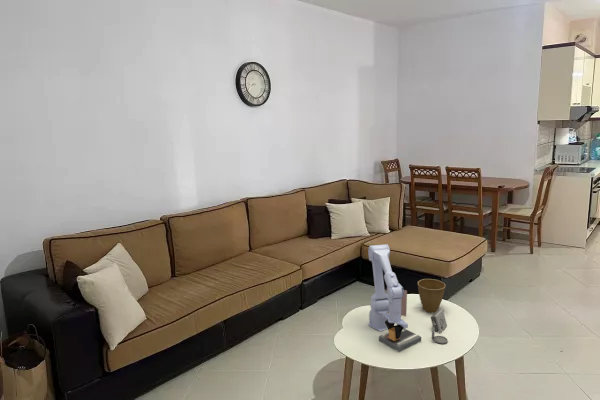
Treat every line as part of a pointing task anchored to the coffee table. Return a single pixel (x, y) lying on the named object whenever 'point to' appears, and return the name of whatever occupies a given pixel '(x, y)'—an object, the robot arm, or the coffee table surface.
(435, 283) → the plant pot
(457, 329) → the coffee table surface
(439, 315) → the electrical switch
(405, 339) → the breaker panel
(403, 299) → the greeting card
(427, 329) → the coffee table surface
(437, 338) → the pocket watch
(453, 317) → the coffee table surface
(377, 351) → the coffee table surface
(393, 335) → the block
